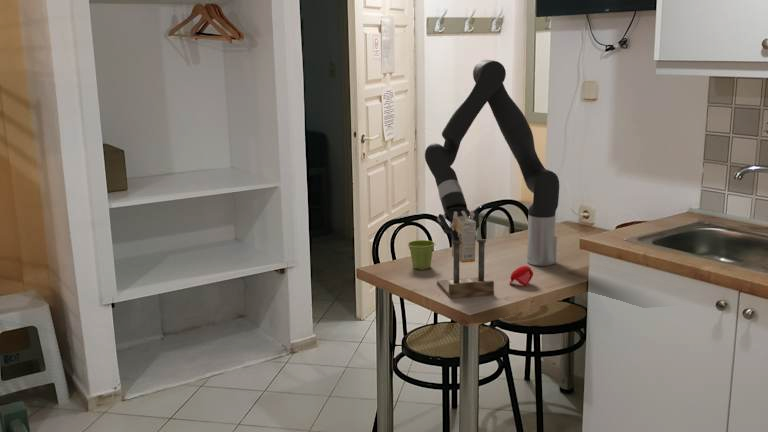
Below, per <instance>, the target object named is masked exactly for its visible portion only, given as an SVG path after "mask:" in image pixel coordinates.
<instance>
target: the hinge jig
mask: <svg viewBox="0 0 768 432" xmlns="http://www.w3.org/2000/svg"><path fill="white" fill-rule="evenodd" d="M476 241H477V243H478V261H477V263H478V267H477V269H478V270H477V271H478V272H477V273H478V276H477V277H466V278H460V261H459V252H460V244H461V241H452V240H451V245H452V244H454V257H453V273H452V274H453V279H441V280H439V279H438V280H436V285H437V286H438V288H440V289H441V290H442V291H443V292H444V294H445V295H446V296H447V297H448V298H449V299H462V298H461V297H463V298H473V296H475V297H486V296H485V295H488V296H495V290H494V289H495V281H494V280H485V243H486V242H487V239H485V238H477V239H476Z"/></svg>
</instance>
